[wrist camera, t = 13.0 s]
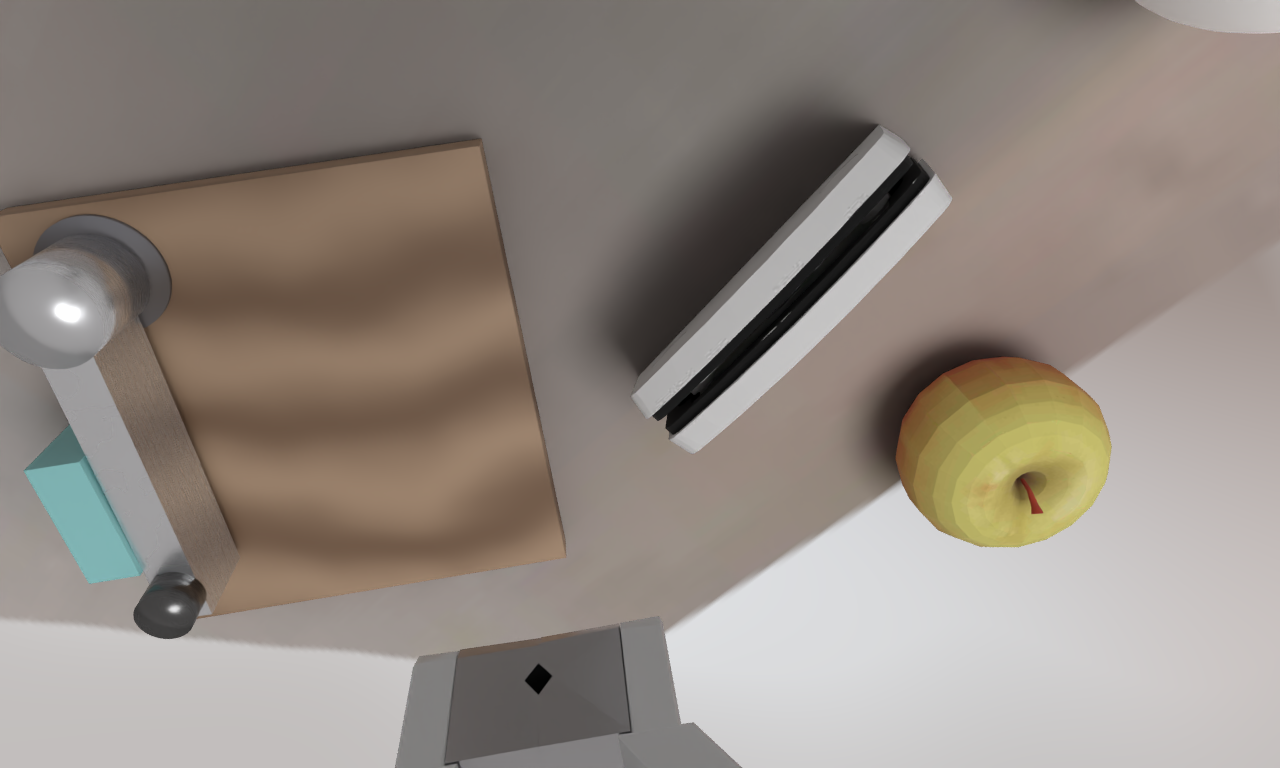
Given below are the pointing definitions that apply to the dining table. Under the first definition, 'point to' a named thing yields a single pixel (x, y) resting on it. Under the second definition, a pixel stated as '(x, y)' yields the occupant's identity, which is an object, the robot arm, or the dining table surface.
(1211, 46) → the dining table surface
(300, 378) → the wooden cutting board
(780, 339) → the white slotted block
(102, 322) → the lock bar
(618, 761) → the robot arm
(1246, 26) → the white tall oval piece
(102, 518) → the block
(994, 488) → the apple
